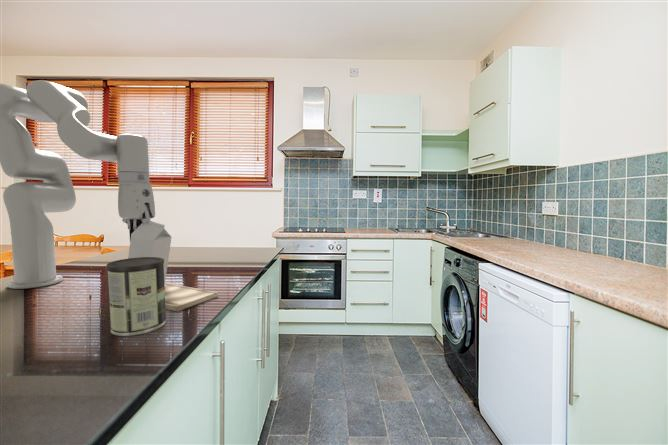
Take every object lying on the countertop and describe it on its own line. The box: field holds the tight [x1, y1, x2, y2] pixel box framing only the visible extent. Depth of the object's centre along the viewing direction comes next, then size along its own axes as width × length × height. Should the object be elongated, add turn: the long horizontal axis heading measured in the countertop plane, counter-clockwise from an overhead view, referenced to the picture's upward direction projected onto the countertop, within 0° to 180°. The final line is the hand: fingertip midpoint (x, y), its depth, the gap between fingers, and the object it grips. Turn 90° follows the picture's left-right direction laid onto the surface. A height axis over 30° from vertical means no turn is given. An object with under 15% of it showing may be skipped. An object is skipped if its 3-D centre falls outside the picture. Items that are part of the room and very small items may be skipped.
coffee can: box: [106, 257, 167, 337], centre depth 67 cm, size 10×10×14 cm
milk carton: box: [127, 220, 172, 285], centre depth 89 cm, size 7×7×19 cm
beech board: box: [164, 282, 219, 312], centre depth 87 cm, size 24×13×1 cm, turn 65°
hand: (137, 243), depth 91 cm, fingers closed
